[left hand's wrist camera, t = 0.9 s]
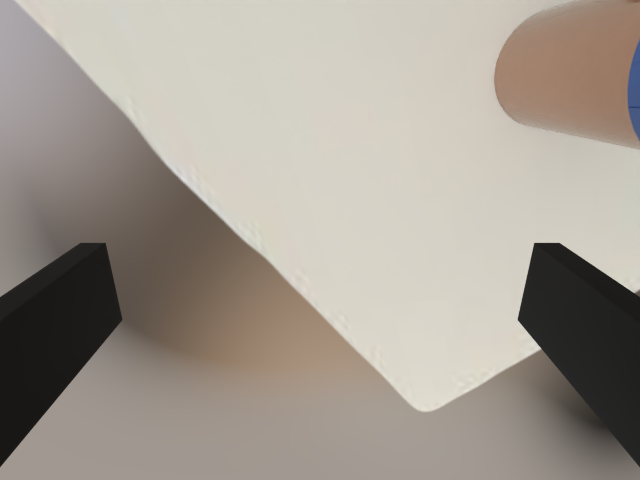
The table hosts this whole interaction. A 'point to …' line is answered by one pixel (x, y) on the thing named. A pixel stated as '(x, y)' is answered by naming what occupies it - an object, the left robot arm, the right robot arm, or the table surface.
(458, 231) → the table surface
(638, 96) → the lid
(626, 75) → the jar
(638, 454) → the left robot arm
